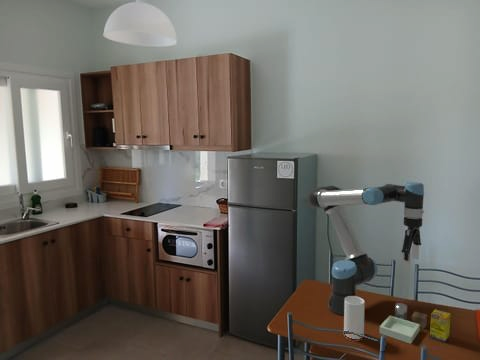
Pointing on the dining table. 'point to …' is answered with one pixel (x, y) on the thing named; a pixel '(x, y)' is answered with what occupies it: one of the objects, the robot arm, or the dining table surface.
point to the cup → (354, 316)
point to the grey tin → (401, 311)
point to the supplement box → (440, 325)
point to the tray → (399, 329)
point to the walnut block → (420, 319)
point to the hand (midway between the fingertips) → (410, 262)
